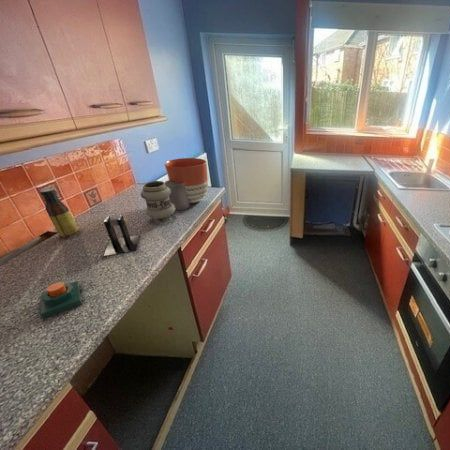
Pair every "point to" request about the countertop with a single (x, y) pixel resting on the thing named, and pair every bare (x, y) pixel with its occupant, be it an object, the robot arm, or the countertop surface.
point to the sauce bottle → (59, 214)
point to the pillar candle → (178, 195)
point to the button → (56, 289)
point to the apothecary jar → (158, 200)
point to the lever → (115, 222)
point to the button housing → (61, 300)
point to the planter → (189, 176)
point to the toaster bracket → (120, 244)
